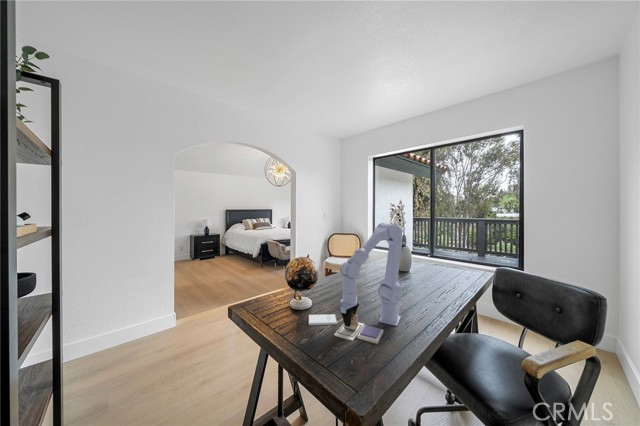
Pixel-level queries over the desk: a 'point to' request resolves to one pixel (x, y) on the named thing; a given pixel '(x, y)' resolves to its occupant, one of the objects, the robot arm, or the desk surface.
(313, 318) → the external hard drive
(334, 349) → the desk surface
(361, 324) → the print card
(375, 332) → the ink pad
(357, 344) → the desk surface
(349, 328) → the stamp
